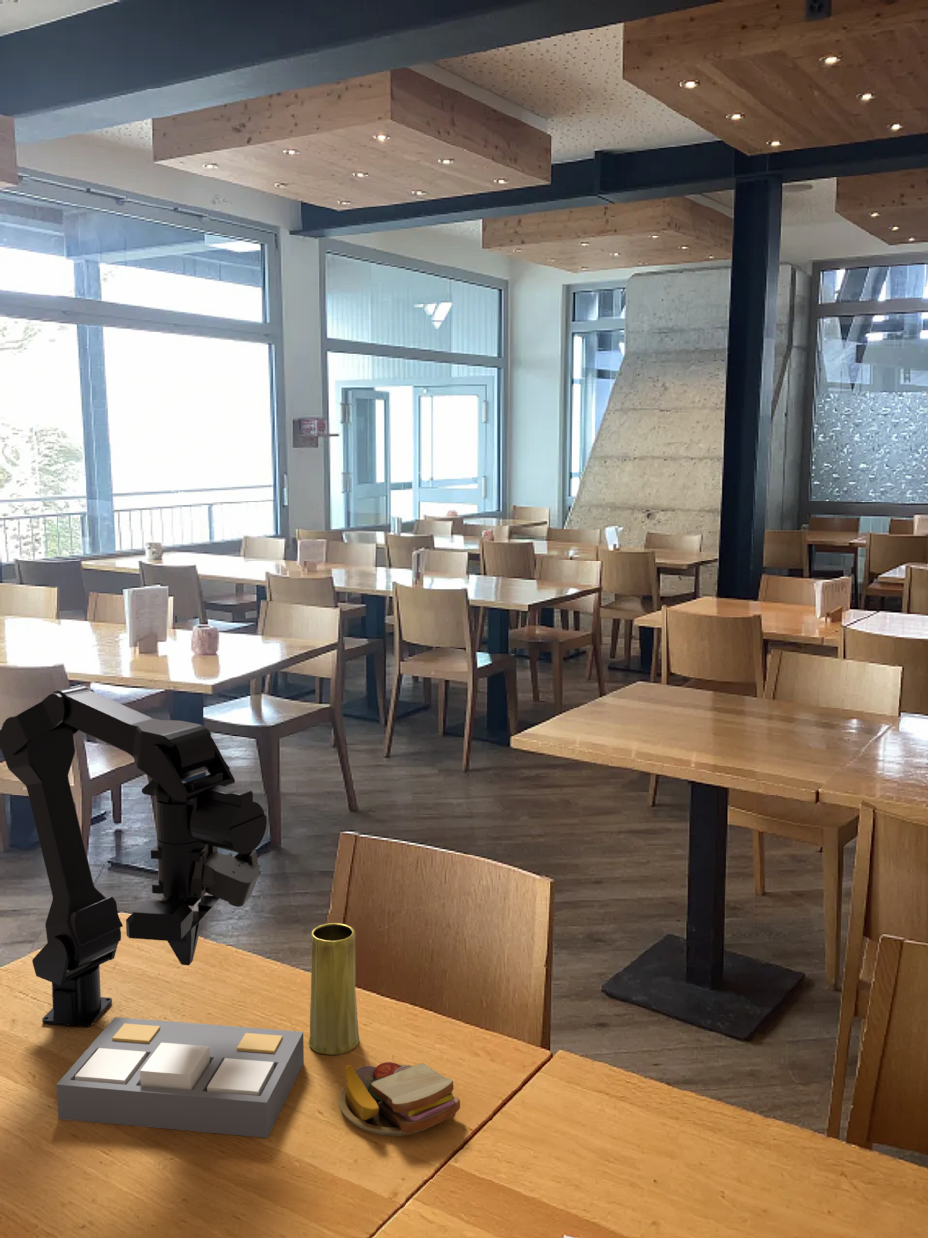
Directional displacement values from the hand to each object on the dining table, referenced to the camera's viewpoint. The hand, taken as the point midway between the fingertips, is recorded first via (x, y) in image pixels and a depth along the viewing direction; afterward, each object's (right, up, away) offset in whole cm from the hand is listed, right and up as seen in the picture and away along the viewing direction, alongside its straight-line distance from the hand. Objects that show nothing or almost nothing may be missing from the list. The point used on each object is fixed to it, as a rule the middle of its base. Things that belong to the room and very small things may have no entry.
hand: (186, 963), depth 124 cm
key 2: (+8, -12, -8) cm, 16 cm away
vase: (+17, -12, +6) cm, 21 cm away
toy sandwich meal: (+26, -14, -7) cm, 30 cm away
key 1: (-7, -11, -6) cm, 15 cm away
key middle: (+1, -10, -8) cm, 13 cm away
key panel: (+1, -13, -4) cm, 14 cm away
